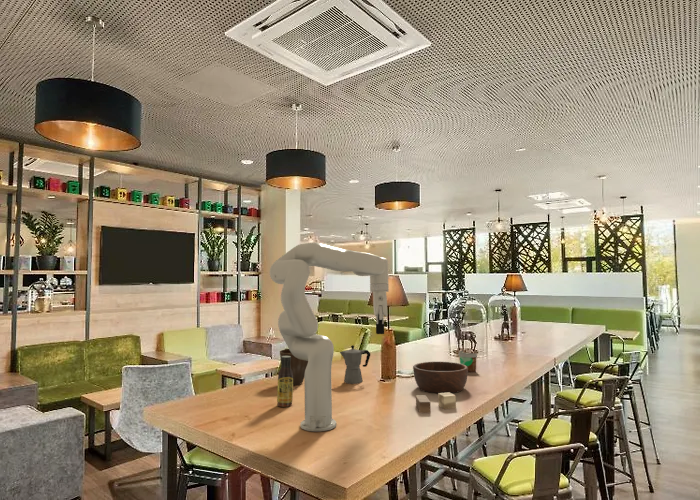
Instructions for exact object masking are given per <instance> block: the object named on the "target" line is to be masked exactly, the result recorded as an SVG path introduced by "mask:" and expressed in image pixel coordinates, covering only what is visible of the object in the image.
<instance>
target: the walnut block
mask: <svg viewBox="0 0 700 500" xmlns="http://www.w3.org/2000/svg"><path fill="white" fill-rule="evenodd" d="M415 406H416V408H417V410H418V412H419V413H420V414H425V413H426V414H431V413H432V411H431V400H429V397H427V395H425V394H424V395H421V394H420V395H418V394H417V395H415Z"/></svg>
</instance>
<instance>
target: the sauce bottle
mask: <svg viewBox="0 0 700 500" xmlns="http://www.w3.org/2000/svg"><path fill="white" fill-rule="evenodd" d="M290 361H291V356H282V357H281V358H280V363H281V365H280V369H279V371H278V374H277V390H276V391H277V396H276V401H277V406H278V407H280V408H286V407H287V408H288V407H292V405H293V399H294V398H293V393H294V385H293V371H292V369H291V366H290Z"/></svg>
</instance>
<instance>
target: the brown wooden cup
mask: <svg viewBox="0 0 700 500" xmlns="http://www.w3.org/2000/svg"><path fill="white" fill-rule="evenodd" d="M279 356H280V357H279V358H280V359H281V357H282V356H291V361H290V366H291V369H292V371H293V386H298V385H302V384H303V382H304V375H305V370H306V367H307V364H308V361H307V360H302V359H298V358H296V357H295V356H294V355H293V354H292V353H291V351H290V350H289V348H288V349H281V350H280V351H279Z"/></svg>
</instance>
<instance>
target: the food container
mask: <svg viewBox="0 0 700 500" xmlns="http://www.w3.org/2000/svg"><path fill="white" fill-rule="evenodd" d="M458 357H459V363H460V364H463V365H466V366H467V367H468V373H476V372H477V371H476V370H477V358H478V355H477V353H475V352H474V353H471V352H465V351H464V350H459V351H458Z"/></svg>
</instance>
